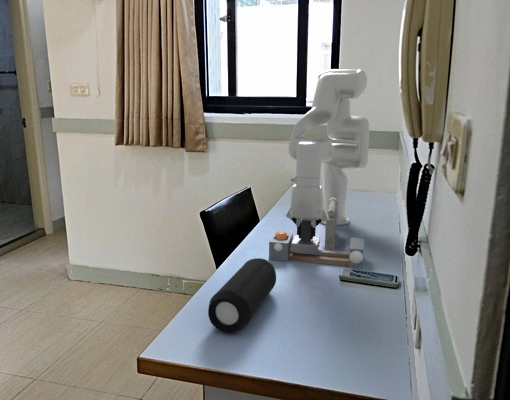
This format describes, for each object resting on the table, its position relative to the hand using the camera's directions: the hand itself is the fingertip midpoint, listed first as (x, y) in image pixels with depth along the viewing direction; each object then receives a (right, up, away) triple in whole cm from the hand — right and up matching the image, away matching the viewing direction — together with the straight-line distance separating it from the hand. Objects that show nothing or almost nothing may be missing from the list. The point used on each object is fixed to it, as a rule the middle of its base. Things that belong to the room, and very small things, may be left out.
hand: (306, 237), depth 148 cm
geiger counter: (+10, -2, +19) cm, 22 cm away
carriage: (0, -4, +1) cm, 4 cm away
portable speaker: (-19, -16, -33) cm, 41 cm away
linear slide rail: (+3, -7, +1) cm, 8 cm away
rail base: (+3, -7, +1) cm, 8 cm away
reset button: (-8, -3, +3) cm, 9 cm away
